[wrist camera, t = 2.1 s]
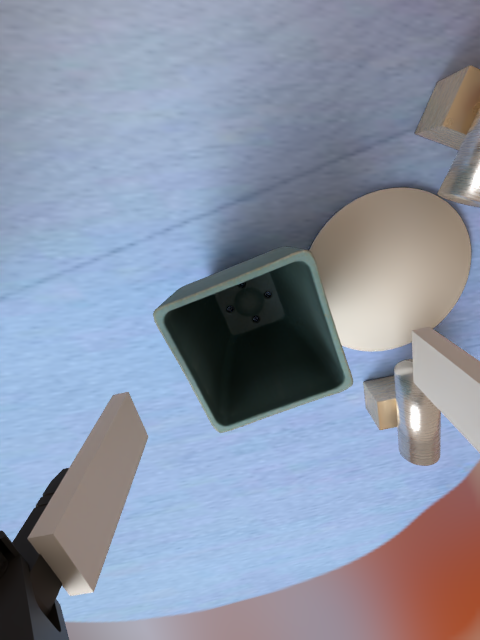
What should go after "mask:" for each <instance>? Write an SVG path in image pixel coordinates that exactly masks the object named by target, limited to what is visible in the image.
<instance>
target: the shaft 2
mask: <svg viewBox="0 0 480 640" xmlns="http://www.w3.org/2000/svg"><path fill="white" fill-rule="evenodd" d="M415 134H416V135H419V136H422V137H424V138H427V139H430V140H432V141H435V142H438V143H440V144H443V145H446V146H448V147H451V148H454V149H456V150H459V151H458V153H457V155H456V157H455V159H454V161H453V163H452V165H451V167H450V169H449V171H448V173H447V175H446V177H445V179H444V181H443V183H442V185H441V187H440V189H439V191H438V193H437V194H438V195H439V196H440V197H442V198H445V199H447V200H450V201H454V202H457V203H461V204H465V205H469V206H474V207H480V69H478V68H475V67H473V66H471V65H470V66H468V67H466V68H464V69H462V70H460V71H458V72H456V73H454V74H452V75H450V76H448V77H446V78H444V79H442V80H440V81H439V82H437V84H436V86H435V88H434V91H433V93H432V95H431V97H430V100H429V102H428V104H427V107H426V109H425V111H424V113H423V116H422V118H421V120H420V123H419V125H418V127H417V129H416V132H415Z"/></svg>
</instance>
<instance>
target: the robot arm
mask: <svg viewBox="0 0 480 640" xmlns="http://www.w3.org/2000/svg"><path fill="white" fill-rule="evenodd" d="M412 354H413V382H414V384H415V385H416V386H417V387H418V388H419V389H420V390H421V391H422V392H423V393H424V394H425V395H426V396H427V397H428V398H429V400H430V401H431V402H432V403H433V404H434V405H435V406H436V407H437V408H438V409H439V410H440V411H441V412H442V413H443V414H444V416H445V417H446V418H447V419H448V420H449V421H450V422H451V423H452V424H453V425H454V426H455V427H456V428H457V429H458V430H459V432H460V433H461V434H462V435H463V436H464V437H465V438H466V439H467V440H468V441H469V442H470V443H471V444H472V445H473V447H474V448H475V449H476V450H477V451H478V452H479V453H480V361H478V360H477V359H475V358H474V357H472V356H471V355H470V354H468V353H467V352H465V351H464V350H462V349H461V348H459V347H458V346H457V345H455V344H454V343H452V342H451V341H449V340H448V339H446V338H445V337H444V336H442V335H441V334H439V333H438V332H436V331H435V330H433V329H432V328H431V327H425V328H421V329H416V330H412ZM147 439H148V435H147V433H146V430H145V428H144V426H143V424H142V421H141V419H140V417H139V415H138V412H137V410H136V408H135V406H134V403H133V401H132V399H131V397H130V394H129V392H125V393H121V394H116V395H113V396H112V398H111V399H110V401H109V403H108V404H107V406H106V408H105V409H104V411H103V413H102V414H101V416H100V418H99V419H98V421H97V423H96V424H95V426H94V428H93V429H92V431H91V433H90V434H89V436H88V438H87V439H86V441H85V443H84V444H83V446H82V448H81V449H80V451H79V453H78V454H77V456H76V458H75V459H74V461H73V463H72V464H71V466H70V468H66V469H63V470H62V471H61V472H60V473H59V474H58V475H57V476H56V477H55V478H54V479H53V480H52V481H51V482H50V484H49V485H48V487H47V489H46V490H45V492H44V493H43V497H41V498H40V500H39V501H38V503H37V504H36V508H34V509H33V511H32V512H31V514H30V516H29V517H28V519H27V520H26V522H25V523H24V525H23V527H22V528H21V530H20V531H19V533H18V534H17V536H16V538H15V539H14V541H13V542H11V541H10V540H9V538H8V537H7V536H6V534H5V533H4V532H3V531H0V640H69V637H68V634H67V630H66V626H65V622H64V618H63V614H62V610H61V606H60V604H59V603H58V601H57V600H56V597H57V595H58V593H59V590H60V588H61V586H63V587H64V588H65V590H66V591H67V592H68V594H69V595H70V596H74V595H80V594H86V593H91V592H94V590H95V587H96V584H97V581H98V578H99V575H100V573H101V570H102V567H103V564H104V561H105V558H106V555H107V553H108V550H109V547H110V544H111V541H112V538H113V536H114V533H115V530H116V527H117V524H118V521H119V519H120V516H121V513H122V510H123V507H124V504H125V502H126V499H127V496H128V493H129V490H130V487H131V484H132V482H133V479H134V476H135V473H136V470H137V467H138V465H139V462H140V459H141V456H142V453H143V450H144V448H145V445H146V442H147Z"/></svg>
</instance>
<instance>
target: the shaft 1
mask: <svg viewBox="0 0 480 640" xmlns="http://www.w3.org/2000/svg"><path fill="white" fill-rule="evenodd" d="M363 385H364V395H365V405H366V409H367V411H368V412H369V414H370V415H371V417H372V419H373V420H374V422H375V424H376V425H377V427H378V428H379V430H383V429H388V428H393V427H397V428H398V445H399V452H400V454H401V455H402V457H403V458H405V459H406V460H407V461H409V462H411V463H413V464H416V465H421V466H428V465H432V464H434V463H436V462H437V461H438V460H439V458H440V433H441V411H440V410H439V409H438V408H437V407H436V406H435V405H434V404H433V403H432V402H431V401H430V400H429V398H428V397H427V396H426V395H425V394H424V393H423V392H422V391H421V390H420V389H419V388H418V387H417V386H416V385H415V384H414V382H413V359H408V360H404V361H401V362H399V363H398V364H396V366H395V368H394V375H393V376H389V377H384V378H379V379H375V380H370V381H365V382H363Z"/></svg>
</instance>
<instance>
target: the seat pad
mask: <svg viewBox="0 0 480 640" xmlns="http://www.w3.org/2000/svg"><path fill="white" fill-rule="evenodd" d="M309 251H311V252H312V254H313V256H314V258H315V260H316V263H317V267H318V270H319V273H320V278H321V280H322V284H323V288H324V291H325V295H326V298H327V301H328V304H329V308H330V311H331V314H332V317H333V320H334V323H335V326H336V330H337V333H338V336H339V339H340V342H341V345H342V346H345V347H348V348H351V349H355V350H360V351H384V350H390V349H394V348H398V347H401V346H404V345H406V344H409V343H411V342H412V330H416V329H421V328H425V327H431V328H432V329H433V328H434V327H436V326H437V325H438V324H439V323H440V322H441V321H442V320H443V319H444V318H445V317H446V316H447V315H448V313H449V312H450V311H451V310H452V308H453V307H454V305H455V304H456V302H457V301H458V299H459V297H460V295H461V293H462V291H463V289H464V287H465V284H466V282H467V279H468V275H469V270H470V264H471V245H470V239H469V235H468V232H467V229H466V226H465V224H464V223H463V221H462V219H461V217H460V216H459V214H458V213H457V212H456V210H455V209H454V208H453V207H452V206H451V205H449V204H448V203H447V202H446V201H444V200H443V199H441V198H440V197H438V196H436V195H434V194H432V193H430V192H427V191H423V190H419V189H414V188H389V189H383V190H378V191H375V192H372V193H369V194H366V195H364V196H362V197H360V198H358V199H355V200H354V201H352V202H351V203H349V204H347V205H346V206H344V207H343V208H342V209H341V210H339V211H338V212H337V213H336V214H335V215H334V216H333V217H332V218H331V219H330V220H329V221H328V222H327V223H326V224H325V225H324V227H323V228H322V229H321V230H320V232H319V233H318V235H317V236H316V238H315V240H314V241H313V243H312V245H311V248H310V250H309Z"/></svg>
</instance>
